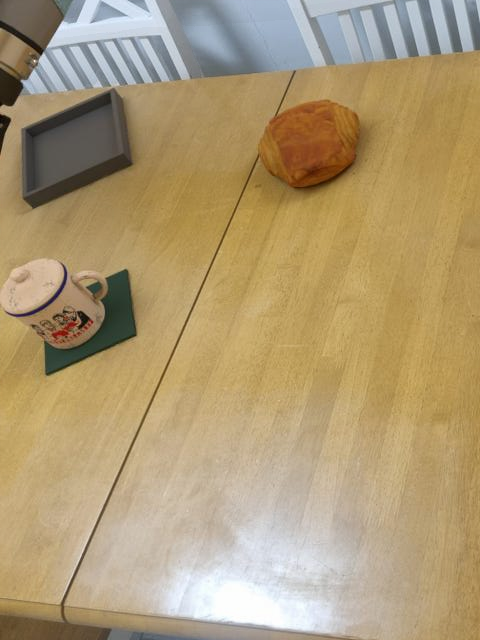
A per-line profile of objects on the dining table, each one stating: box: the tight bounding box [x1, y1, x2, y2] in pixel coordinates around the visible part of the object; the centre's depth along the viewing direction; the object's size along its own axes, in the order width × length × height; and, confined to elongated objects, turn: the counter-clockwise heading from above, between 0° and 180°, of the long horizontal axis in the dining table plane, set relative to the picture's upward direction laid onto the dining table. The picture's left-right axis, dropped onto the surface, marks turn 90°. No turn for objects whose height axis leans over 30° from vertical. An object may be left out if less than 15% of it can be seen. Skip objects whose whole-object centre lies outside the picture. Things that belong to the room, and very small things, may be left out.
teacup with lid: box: [0, 257, 108, 349], centre depth 97 cm, size 12×9×12 cm
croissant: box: [257, 98, 361, 188], centre depth 108 cm, size 14×16×8 cm
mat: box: [43, 268, 137, 376], centre depth 102 cm, size 13×13×1 cm
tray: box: [20, 87, 133, 209], centre depth 124 cm, size 18×20×2 cm
